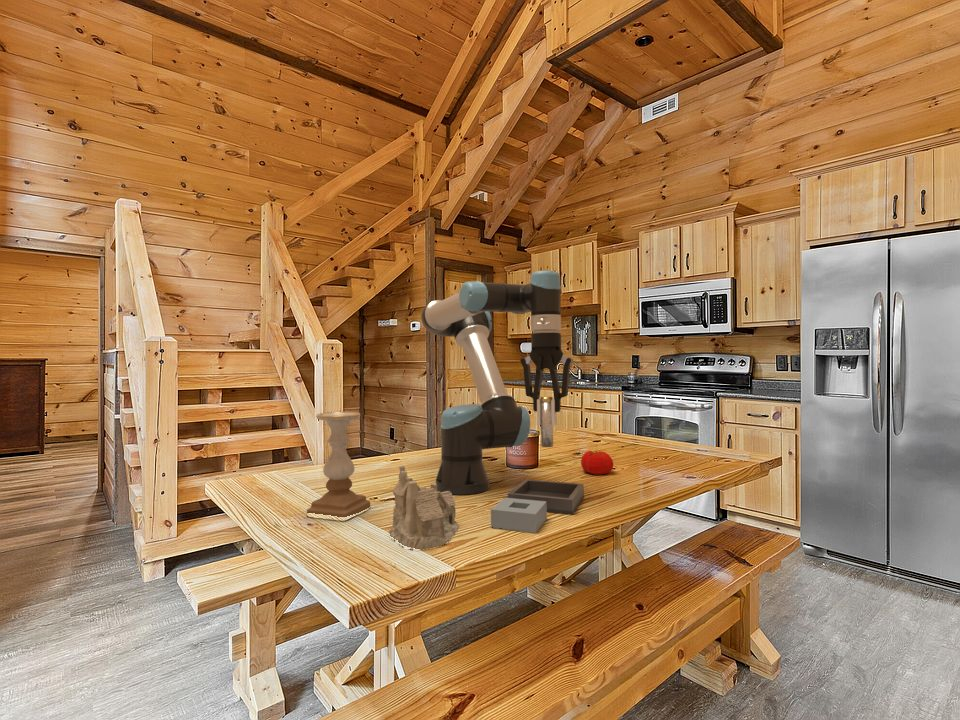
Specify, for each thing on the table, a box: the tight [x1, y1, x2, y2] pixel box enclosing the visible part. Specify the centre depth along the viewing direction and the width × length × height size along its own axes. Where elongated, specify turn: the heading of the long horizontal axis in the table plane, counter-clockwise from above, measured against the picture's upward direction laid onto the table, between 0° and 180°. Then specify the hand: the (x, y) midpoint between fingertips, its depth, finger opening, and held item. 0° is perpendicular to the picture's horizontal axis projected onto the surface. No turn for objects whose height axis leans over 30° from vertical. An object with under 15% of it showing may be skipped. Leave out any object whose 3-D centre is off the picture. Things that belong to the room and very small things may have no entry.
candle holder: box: [306, 411, 371, 517], centre depth 122 cm, size 11×11×24 cm
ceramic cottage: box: [389, 464, 460, 549], centre depth 107 cm, size 16×16×15 cm
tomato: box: [580, 450, 614, 476], centre depth 163 cm, size 10×11×7 cm
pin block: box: [490, 497, 548, 534], centre depth 113 cm, size 10×10×4 cm
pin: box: [540, 396, 554, 448], centre depth 129 cm, size 3×3×12 cm
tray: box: [506, 478, 585, 516], centre depth 129 cm, size 16×16×4 cm
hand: (547, 424), depth 129 cm, fingers closed on pin, 3 cm apart
